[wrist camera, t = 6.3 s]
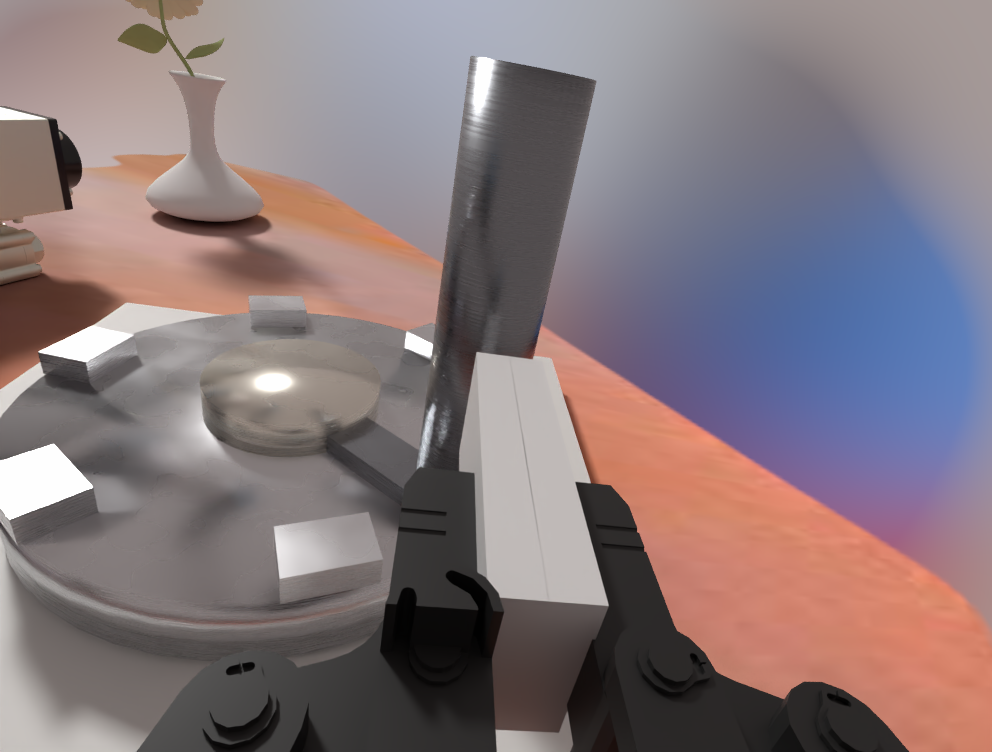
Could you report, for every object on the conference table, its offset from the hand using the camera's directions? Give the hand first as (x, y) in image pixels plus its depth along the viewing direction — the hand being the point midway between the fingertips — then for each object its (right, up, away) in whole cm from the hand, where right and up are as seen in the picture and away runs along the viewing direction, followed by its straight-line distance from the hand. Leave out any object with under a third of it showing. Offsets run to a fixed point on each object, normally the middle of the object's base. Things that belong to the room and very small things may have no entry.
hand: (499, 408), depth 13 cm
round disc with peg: (-9, -3, +12) cm, 15 cm away
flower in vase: (-33, +18, +48) cm, 61 cm away
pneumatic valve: (-36, +8, +27) cm, 46 cm away
